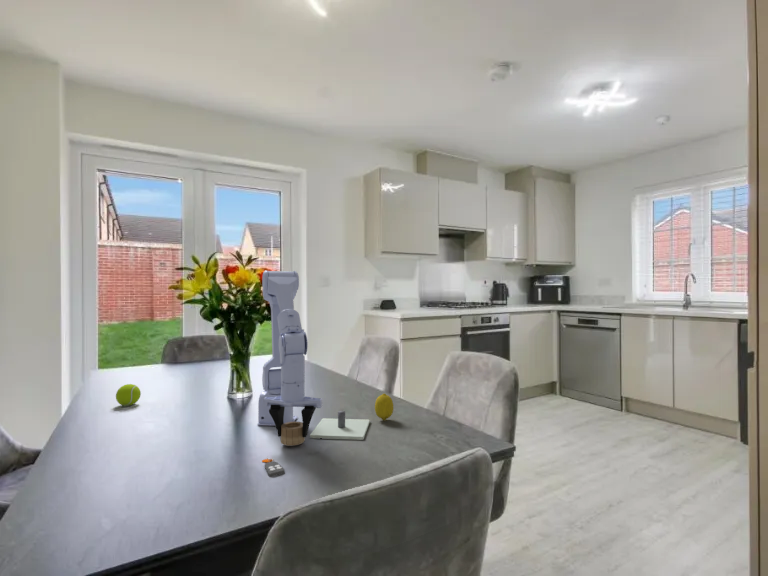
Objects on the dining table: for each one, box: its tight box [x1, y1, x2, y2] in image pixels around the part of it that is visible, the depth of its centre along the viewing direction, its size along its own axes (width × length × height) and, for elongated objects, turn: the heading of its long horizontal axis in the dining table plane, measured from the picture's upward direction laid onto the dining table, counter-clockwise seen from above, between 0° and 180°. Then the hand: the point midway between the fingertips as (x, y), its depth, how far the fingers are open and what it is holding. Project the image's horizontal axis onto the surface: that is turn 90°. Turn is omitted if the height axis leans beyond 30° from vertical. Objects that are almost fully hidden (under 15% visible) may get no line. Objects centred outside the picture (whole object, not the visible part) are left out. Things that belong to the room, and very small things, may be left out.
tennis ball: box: [115, 383, 142, 407], centre depth 138 cm, size 7×7×7 cm
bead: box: [280, 420, 306, 446], centre depth 104 cm, size 6×6×4 cm
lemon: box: [374, 393, 394, 421], centre depth 123 cm, size 6×6×8 cm
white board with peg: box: [309, 410, 371, 441], centre depth 115 cm, size 14×14×5 cm
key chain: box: [261, 457, 286, 477], centre depth 93 cm, size 13×4×2 cm, turn 31°
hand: (292, 435), depth 104 cm, fingers closed on bead, 6 cm apart
